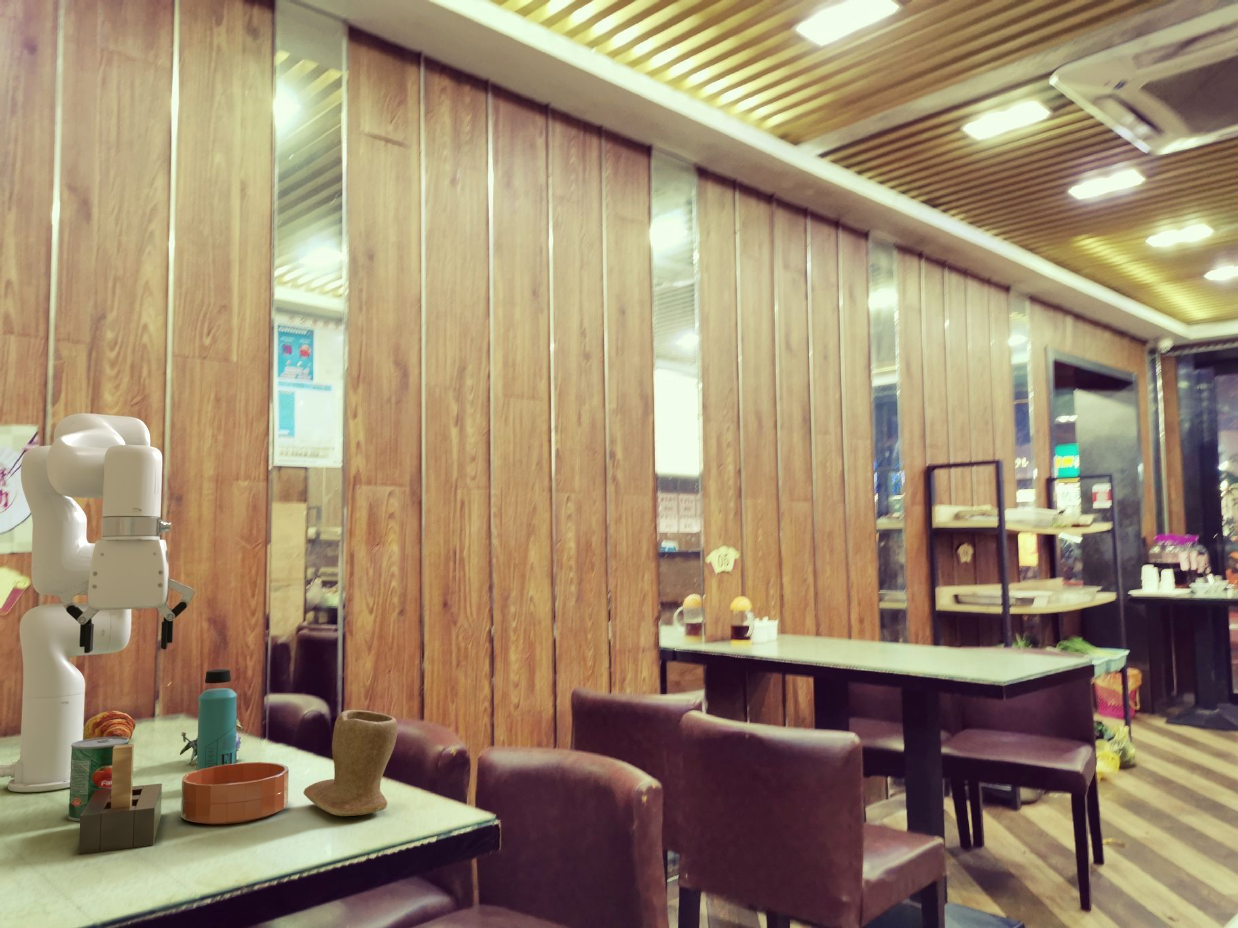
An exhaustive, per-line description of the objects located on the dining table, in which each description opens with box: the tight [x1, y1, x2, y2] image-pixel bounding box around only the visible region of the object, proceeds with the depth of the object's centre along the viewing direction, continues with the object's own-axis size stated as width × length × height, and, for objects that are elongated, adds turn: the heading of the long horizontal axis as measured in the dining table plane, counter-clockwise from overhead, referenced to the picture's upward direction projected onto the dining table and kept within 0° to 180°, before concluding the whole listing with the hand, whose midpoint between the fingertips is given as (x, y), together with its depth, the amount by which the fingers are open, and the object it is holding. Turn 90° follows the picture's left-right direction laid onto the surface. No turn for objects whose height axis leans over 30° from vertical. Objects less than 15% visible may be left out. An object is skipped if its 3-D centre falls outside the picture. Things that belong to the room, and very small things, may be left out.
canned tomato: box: [67, 737, 130, 822], centre depth 144 cm, size 8×8×11 cm
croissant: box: [83, 710, 137, 740], centre depth 202 cm, size 21×10×8 cm, turn 41°
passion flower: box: [179, 718, 245, 765], centre depth 179 cm, size 11×11×12 cm
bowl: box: [180, 761, 289, 825], centre depth 143 cm, size 15×15×6 cm
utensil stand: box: [78, 783, 163, 855], centre depth 133 cm, size 9×16×5 cm, turn 23°
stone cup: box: [303, 709, 399, 817], centre depth 145 cm, size 15×12×15 cm
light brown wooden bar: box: [111, 743, 135, 808], centre depth 130 cm, size 2×2×13 cm
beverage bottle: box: [195, 668, 238, 770], centre depth 160 cm, size 6×7×20 cm
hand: (126, 650), depth 132 cm, fingers open, 9 cm apart
